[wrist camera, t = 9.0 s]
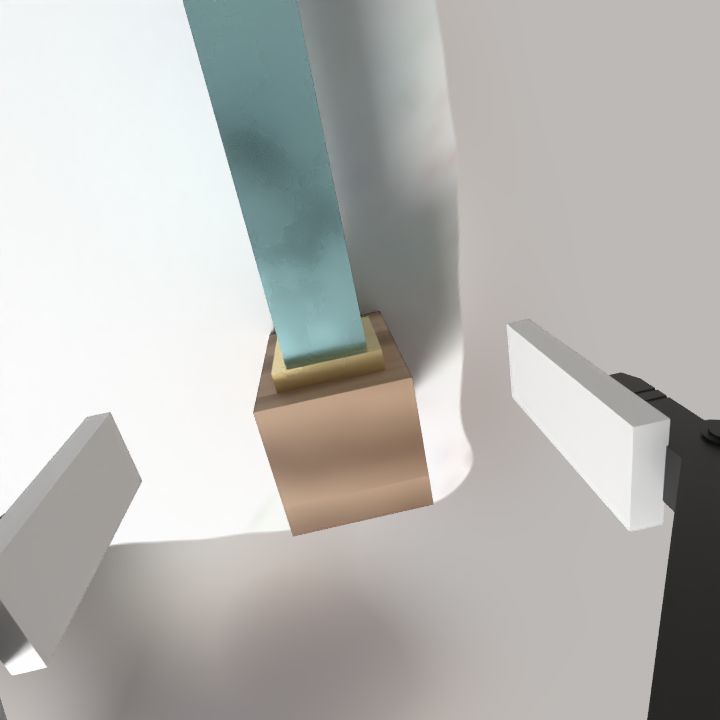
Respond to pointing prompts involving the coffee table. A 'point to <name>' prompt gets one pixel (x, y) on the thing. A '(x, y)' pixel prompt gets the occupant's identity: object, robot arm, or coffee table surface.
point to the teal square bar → (284, 186)
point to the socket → (345, 443)
